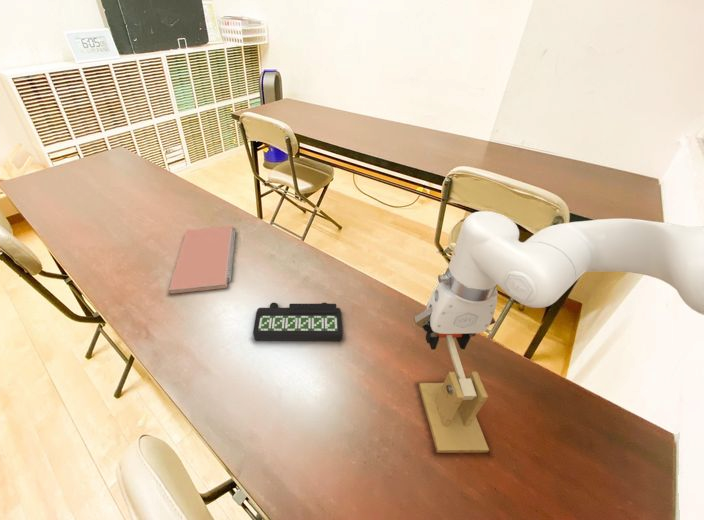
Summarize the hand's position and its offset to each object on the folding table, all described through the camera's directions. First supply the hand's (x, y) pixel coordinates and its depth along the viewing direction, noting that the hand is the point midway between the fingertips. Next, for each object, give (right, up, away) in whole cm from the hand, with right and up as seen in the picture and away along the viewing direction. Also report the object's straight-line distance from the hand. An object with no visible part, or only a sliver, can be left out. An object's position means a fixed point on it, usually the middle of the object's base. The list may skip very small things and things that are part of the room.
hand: (445, 342), depth 64 cm
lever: (0, -3, -4) cm, 5 cm away
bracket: (0, -14, -2) cm, 14 cm away
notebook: (-59, +12, +37) cm, 71 cm away
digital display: (-30, -2, +17) cm, 34 cm away
